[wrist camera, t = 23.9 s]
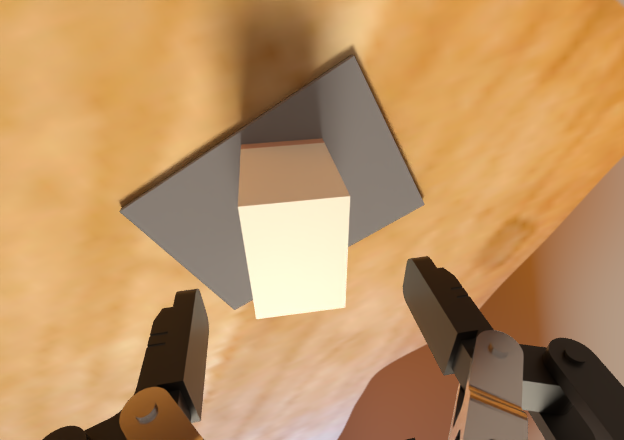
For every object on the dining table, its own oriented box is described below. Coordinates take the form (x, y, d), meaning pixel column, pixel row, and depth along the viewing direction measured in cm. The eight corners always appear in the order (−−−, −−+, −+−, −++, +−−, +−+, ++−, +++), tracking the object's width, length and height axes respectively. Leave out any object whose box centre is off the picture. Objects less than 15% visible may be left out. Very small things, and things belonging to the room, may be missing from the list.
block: (350, 196, 17) (322, 138, 24) (237, 206, 17) (240, 144, 23) (345, 307, 22) (322, 232, 28) (256, 319, 21) (254, 240, 28)
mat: (121, 208, 25) (119, 211, 25) (352, 54, 22) (354, 55, 21) (234, 305, 32) (234, 310, 32) (422, 201, 29) (424, 204, 28)
